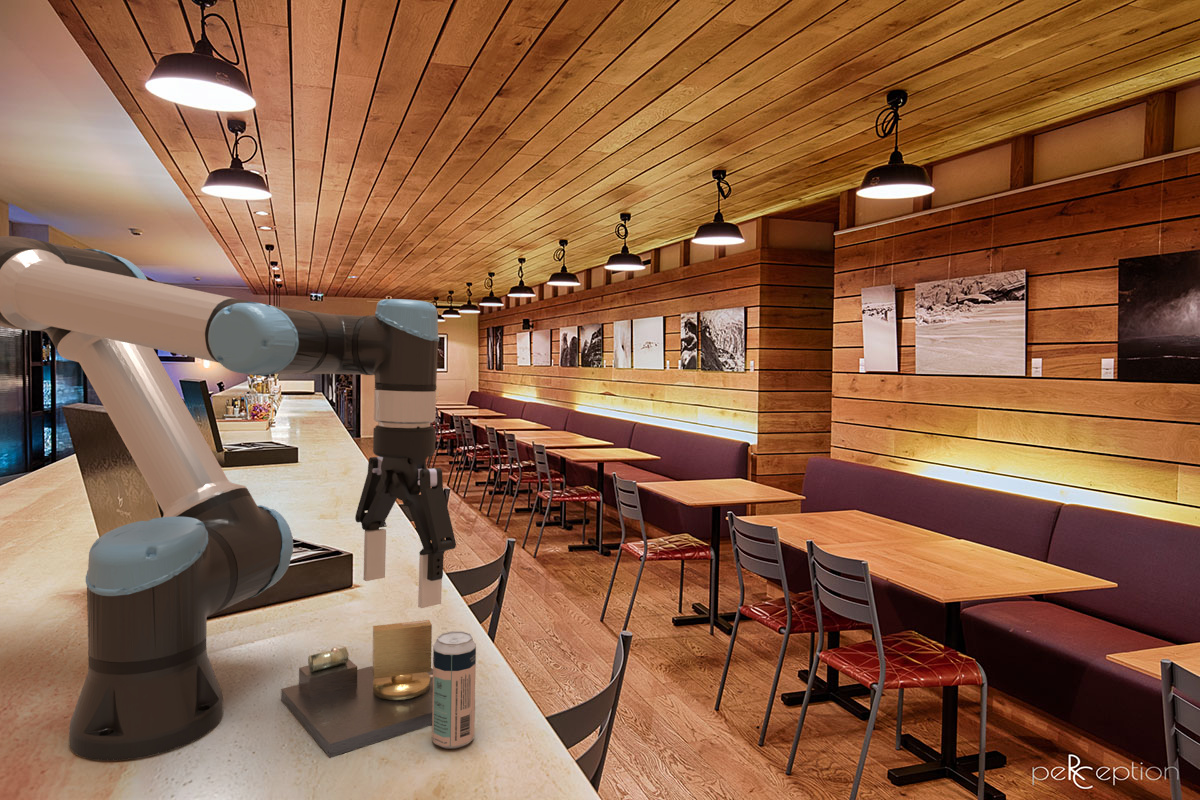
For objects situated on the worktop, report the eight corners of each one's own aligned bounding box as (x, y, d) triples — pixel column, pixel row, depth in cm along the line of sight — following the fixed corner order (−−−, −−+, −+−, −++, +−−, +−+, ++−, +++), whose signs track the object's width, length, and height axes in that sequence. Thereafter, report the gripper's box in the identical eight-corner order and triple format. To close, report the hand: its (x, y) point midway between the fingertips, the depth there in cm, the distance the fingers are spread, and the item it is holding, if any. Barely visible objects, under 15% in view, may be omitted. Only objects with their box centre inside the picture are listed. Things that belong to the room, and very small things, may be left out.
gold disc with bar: (447, 693, 92) (448, 628, 92) (375, 703, 89) (376, 636, 88) (437, 671, 98) (438, 611, 98) (370, 680, 95) (371, 617, 95)
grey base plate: (329, 757, 79) (330, 701, 79) (281, 700, 92) (281, 651, 92) (474, 710, 91) (475, 661, 91) (413, 665, 104) (414, 622, 104)
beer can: (476, 730, 86) (478, 630, 86) (471, 752, 81) (473, 645, 81) (435, 730, 86) (437, 629, 85) (427, 751, 81) (429, 645, 81)
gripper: (489, 432, 86) (483, 611, 87) (382, 416, 103) (379, 564, 104) (433, 434, 80) (428, 625, 81) (331, 417, 98) (328, 573, 99)
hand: (400, 591), depth 93 cm, fingers open, 13 cm apart
